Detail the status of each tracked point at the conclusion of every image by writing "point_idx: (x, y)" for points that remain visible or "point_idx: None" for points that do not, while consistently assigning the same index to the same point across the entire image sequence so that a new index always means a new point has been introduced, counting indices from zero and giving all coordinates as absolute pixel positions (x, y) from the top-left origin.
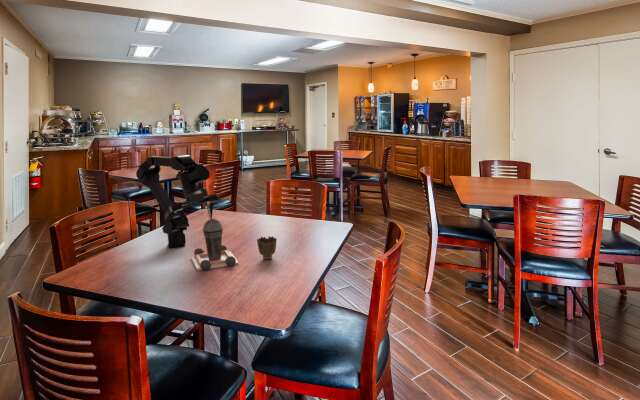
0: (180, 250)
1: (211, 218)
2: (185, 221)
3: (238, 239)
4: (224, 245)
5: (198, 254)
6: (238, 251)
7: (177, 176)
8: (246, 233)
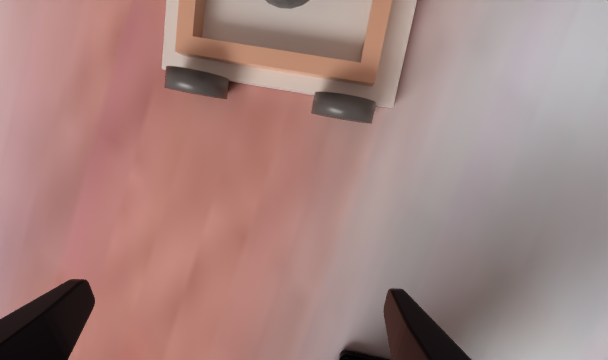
0: None
1: (52, 294)
2: (463, 354)
3: None
4: (166, 87)
5: (360, 65)
6: (119, 78)
7: None
8: None
